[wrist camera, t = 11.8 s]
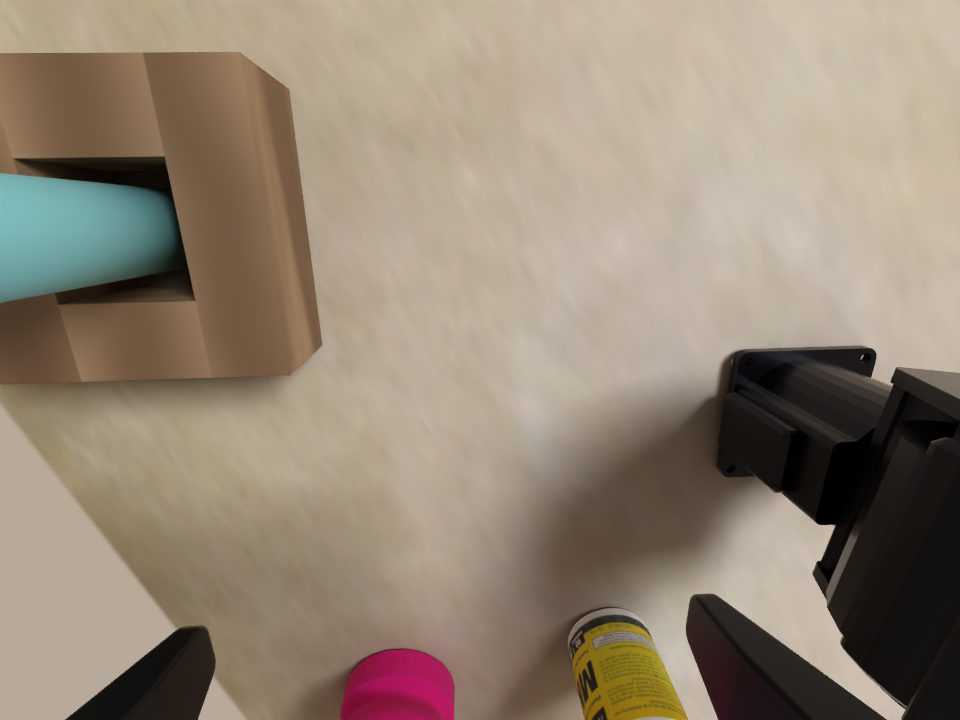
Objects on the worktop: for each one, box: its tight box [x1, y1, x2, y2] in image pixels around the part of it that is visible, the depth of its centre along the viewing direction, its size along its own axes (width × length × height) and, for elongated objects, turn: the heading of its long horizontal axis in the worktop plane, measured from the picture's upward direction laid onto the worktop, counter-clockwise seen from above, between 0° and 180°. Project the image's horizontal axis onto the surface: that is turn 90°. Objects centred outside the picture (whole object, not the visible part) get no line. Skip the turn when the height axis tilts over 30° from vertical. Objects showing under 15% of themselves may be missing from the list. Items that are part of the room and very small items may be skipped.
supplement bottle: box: [568, 608, 688, 720], centre depth 22 cm, size 5×5×8 cm
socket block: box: [0, 52, 322, 384], centre depth 16 cm, size 10×10×4 cm
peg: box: [0, 173, 188, 303], centre depth 13 cm, size 3×3×12 cm
